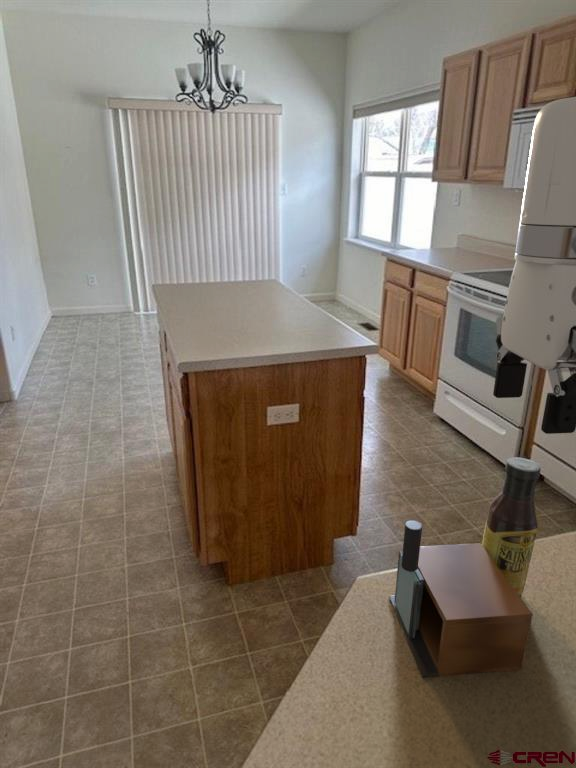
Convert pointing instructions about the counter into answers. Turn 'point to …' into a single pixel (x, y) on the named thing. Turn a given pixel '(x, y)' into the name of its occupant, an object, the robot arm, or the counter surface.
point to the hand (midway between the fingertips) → (530, 413)
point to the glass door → (409, 577)
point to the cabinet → (465, 614)
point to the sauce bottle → (513, 522)
